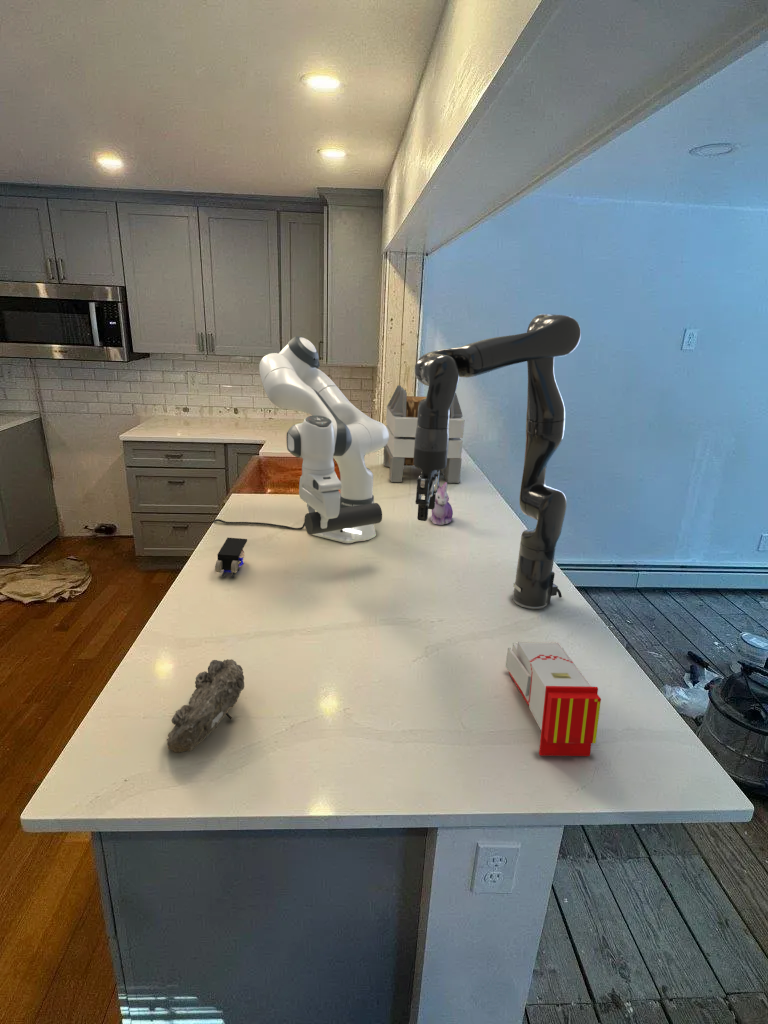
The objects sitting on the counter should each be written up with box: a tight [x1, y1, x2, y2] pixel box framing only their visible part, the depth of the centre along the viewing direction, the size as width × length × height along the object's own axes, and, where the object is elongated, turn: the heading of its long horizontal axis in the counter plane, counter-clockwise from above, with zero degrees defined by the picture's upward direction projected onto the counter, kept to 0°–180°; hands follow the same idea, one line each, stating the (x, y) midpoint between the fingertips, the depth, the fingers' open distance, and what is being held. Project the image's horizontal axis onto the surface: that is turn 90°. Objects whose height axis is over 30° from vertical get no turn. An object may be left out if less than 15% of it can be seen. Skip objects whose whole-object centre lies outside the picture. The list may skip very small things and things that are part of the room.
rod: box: [303, 502, 383, 536], centre depth 164 cm, size 22×6×6 cm, turn 120°
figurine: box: [430, 481, 454, 526], centre depth 211 cm, size 9×10×15 cm
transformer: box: [383, 384, 465, 484], centre depth 268 cm, size 34×33×41 cm
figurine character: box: [214, 537, 248, 578], centre depth 166 cm, size 7×8×15 cm
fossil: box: [166, 658, 245, 754], centre depth 106 cm, size 22×10×15 cm
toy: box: [505, 641, 602, 757], centre depth 113 cm, size 12×13×30 cm
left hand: (317, 523), depth 160 cm, fingers closed on rod, 6 cm apart
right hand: (426, 514), depth 132 cm, fingers open, 8 cm apart
